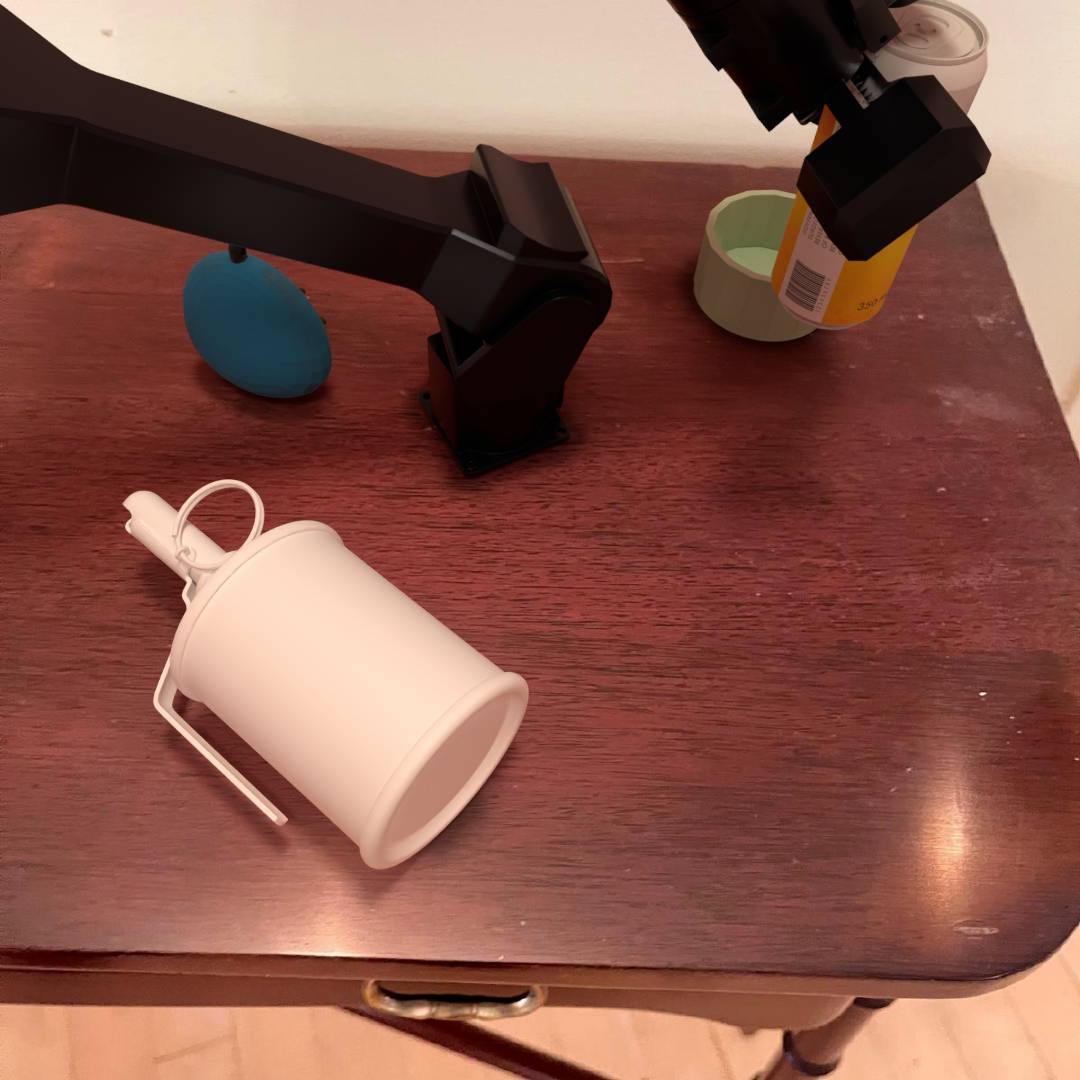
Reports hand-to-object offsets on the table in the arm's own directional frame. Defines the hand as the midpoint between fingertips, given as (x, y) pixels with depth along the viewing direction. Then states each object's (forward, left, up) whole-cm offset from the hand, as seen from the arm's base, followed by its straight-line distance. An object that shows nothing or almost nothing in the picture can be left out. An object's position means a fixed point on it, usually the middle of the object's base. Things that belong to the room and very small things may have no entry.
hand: (894, 174), depth 49 cm
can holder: (+1, +7, -13) cm, 15 cm away
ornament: (-29, +13, -14) cm, 35 cm away
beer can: (-1, 0, -8) cm, 8 cm away
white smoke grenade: (-31, -15, -9) cm, 36 cm away
